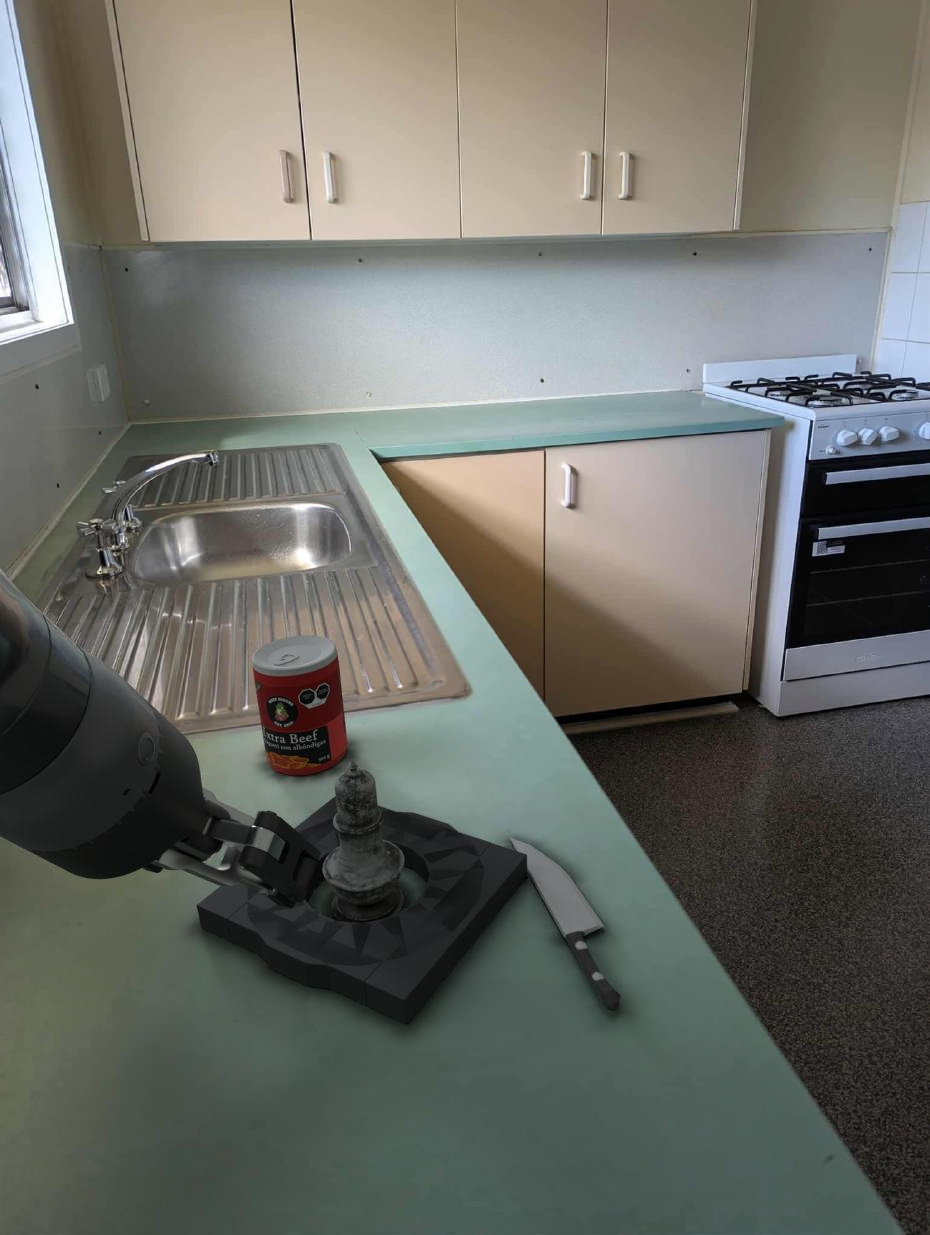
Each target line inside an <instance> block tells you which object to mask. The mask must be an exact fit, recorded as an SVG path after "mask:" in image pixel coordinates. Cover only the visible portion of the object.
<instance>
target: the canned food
mask: <svg viewBox="0 0 930 1235" xmlns="http://www.w3.org/2000/svg"><path fill="white" fill-rule="evenodd" d="M338 652H339V651H338V648H337V644H336V643H335V642H334V641H333V640H332V639H330V638H329V637H325V636H319V635H312V634H311V635H309V634H304V635H303V634H302V635H292V636H287V637H283V638H279V639H275V640H272V641H270V642H268V643H265V644H264V645H261V646H260V647H259V648H257V649H256V650H255V651H254V652H253V654H252V656H251V667H252V675H253V682H254V688H255V695H256V701H257V707H258V714H259V721H260V726H261V732H262V740H263V746H264V752H265V757H266V760H267V761H268V764H269V765H270V767H271V768H272V769H273V770H275V771H276V772H278V773H281V774H284V775H288V776H307V775H312V774H317V773H320V772H323V771H326V770H327V769H330V768H332V767H334V766H335V765H337V764H338V763H339V762H340V761H341V760H342V759H343V758H344V756H345V754H346V751H347V746H348V734H347V726H346V716H345V707H344V705H345V704H344V696H343V686H342V679H341V668H340V660H339V653H338Z"/></svg>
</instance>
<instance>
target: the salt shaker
mask: <svg viewBox="0 0 930 1235" xmlns="http://www.w3.org/2000/svg"><path fill="white" fill-rule="evenodd" d="M347 768H348V769H346V770H345V771H343V772H341V773H340V774H339V775H338V777H337V778H336V780H335V782H334V796H336V803H337V812H338V813H337V814H336V815H335V817H334V820H333V824H334V827H335V828H336V829H337V830H338V831H339V838H340V846H339V847H337V848H336V849H334V850H333V851H332V852H331V853H330V854H329V855H328V856H327V857H326V859H325V861H324V863H323V869H322V870H323V874H324V877H325V879H324V880H326V881H327V882H328V884H329V886H330V888H331V890H332V891H333V893H334V894H335V895H334V897H333V899H332V901H331V911H332V915H333V917H334V918H335V920H336V921H340V922H353V923H365V922H370V921H375V920H380V919H385V918H389V917H391V916H393V915H395V914H397V913H399V912H401V911H402V910H403V906H404V903H405V897H404V896H405V895H404V893H403V890H402V889H401V888H400V887H399V886H398V883H399V880H400V877H401V874H402V871H403V869H404V867H405V866H404V855H403V853H402V851H401V850H400V849H399V848H398V847H397V846H396V845H395V844H393V843H391V842H389V841H386V840H382V833H381V824H382V822H383V820H384V813H383V811H382V810H381V809H380V808H379V807H378V806H379V805H378V804H379V803H378V794H377V784H376V783H377V782H376V780H375V777H374V775H373V774H372V773H371V772H370V771H369V770H366V769H364V768H359V764H358V763H356V762H355V761H354V760H352V761H351V762H350V763H349V765H348V766H347Z"/></svg>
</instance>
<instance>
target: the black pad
mask: <svg viewBox="0 0 930 1235" xmlns="http://www.w3.org/2000/svg"><path fill="white" fill-rule="evenodd" d="M378 807H379V808H380V809H381V810H382V811H383V813H384V820H383V822H382V824H381V833H382V840H386V841H389V842H391V843H393V844H395V845H396V846H397V847H398V848H399V849H400V850H401V851H402V853H403V855H404V867H405V868H408V869H411V870H413V871H415V872H416V874H417V875H419V876H420V877H421V878H422V879H423V880H424V881H426V886H425V889H424V891H423V893H421V894H420V896H418V898H417V899H416V900H415V901H414V902H413V903H412V904H411V905H410V906H409V907H407V908H404V909H402V910H401V911H400V912H399V913H397V914H395V915H393V916H391V917H389V918H385V919H380V920H375V921H370V922H365V923H353V922H340V921H338V920H336V919H332V918H330V917H328V916H325V915H323V914H322V913H321V914H320V913H319V912H316V910H315V909H314V908H313V907H312V906H311V905H310V903H309V900H310V897H311V896H312V893H313V891H314V889H315V888H316V887H317V886H319V885H320V884H321V883H322V882H323V881H324V880H326V879H325V877H324V874H323V870H322V869H323V863H324V861H325V859H326V857H327V856H328V855H329V854H330V853H331V852H332V851H333V850H334V849H336V848H337V847H339V846H340V838H339V831H338V830H337V829H336V828H335V827H334V824H333V820H334V817H335V815H336V814H337V813H338V812H337V803H336V795H334V796H333V797H332V798H331V799H330V800H328V801H327V802H326V803H324V804H323V805H322V806H321V807H320V808H318V809H317V810H316V811H315V812H313V813H312V814H310V816H308V817H307V818H306V819H304V820H303V821H301V823H299V824H297V825H296V826H295V827H293V828H294V829H295V830H296V831H297V832H298V833H300V834H301V835H302V836H303V837H304V838H305V839H306V840H308V841H309V842H310V843H311V844H312V845H313V846H315V847H316V848H317V849H318V850H319V851H320V852H321V855H320V858H319V860H318V862H317V863H316V866H315V869H314V872H313V874H312V877H311V880H310V883H309V885H308V888H307V894H306V896H305V899H304V901H301V902H300V903H299V902H296V904H295V905H294V907H293V908H292V909H290V908H286V907H282V906H279V905H277V904H276V903H275V902H273V901H272V900H270V899H269V898H268V897H266V896H265V895H262V894H260V893H259V891H258V890H255V889H253V888H251V887H248V886H246V885H244V884H241V883H238V884H237V885H235V886H219V887H218V888H216V889H215V890H213V891H212V892H211V893H210V894H208V895H207V896H206V897H205V898H203V899H202V900H201V901H199V903H197V904H196V910H197V915H198V921H199V925H200V928H201V929H204V930H206V931H208V932H210V933H212V934H214V935H216V936H218V937H220V938H223V939H224V940H227V941H229V942H231V943H233V944H236V945H238V946H240V947H242V948H244V949H246V950H248V951H250V952H252V953H255V954H257V955H259V956H261V957H262V958H263V959H264V961H265V962H266V963H267V965H268V966H269V968H270V969H272V970H274V971H275V972H277V973H279V974H282V975H284V976H285V977H288V978H290V979H292V980H294V981H296V982H298V983H301V984H302V985H305V986H307V987H311V988H316V989H330V990H333V991H335V992H337V993H338V994H341V995H343V996H345V997H347V998H350V999H352V1000H354V1001H356V1002H358V1003H360V1004H362V1005H364V1006H367V1007H369V1008H371V1009H373V1010H375V1011H377V1012H379V1013H382V1014H383V1015H386V1016H387V1017H390V1018H392V1019H394V1020H396V1021H398V1022H401V1023H402V1024H404V1025H408V1024H409V1022H411V1020H412V1019H413V1017H414V1016H415V1015H416V1014H417V1013H418V1012H419V1010H420V1009H421V1007H423V1005H424V1004H425V1003H426V1001H427V1000H429V998H430V996H432V994H433V993H434V991H435V990H436V989H437V988H438V987H439V986H440V984H441V983H442V982H443V980H444V979H445V978H446V977H447V976H448V974H449V973H450V972H451V971H452V970H453V969H454V967H455V966H456V965H457V963H458V962H459V961H460V960H461V958H462V957H463V956H464V955H465V953H467V951H468V950H469V948H470V947H471V946H472V945H473V944H474V942H475V941H476V940H477V939H478V938H479V936H480V935H481V934H482V933H483V931H484V930H485V929H486V928H487V926H488V925H489V924H490V923H491V922H492V920H493V919H494V918H495V917H496V916H497V914H498V913H499V912H500V911H501V909H502V908H503V907H504V905H505V904H506V903H507V902H508V901H509V899H510V898H511V897H512V896H513V894H514V893H516V891H517V890H518V888H519V887H520V886H521V885H522V883H524V881H525V880H526V879H527V877H528V876H529V873H528V872H527V854H524V853H521V852H518V851H516V849H511V848H509V847H505V846H502V845H499V844H496V843H494V842H491V841H487V840H485V839H481V838H478V837H476V836H472V835H470V834H467V833H463V832H460V831H458V830H457V829H456V828H455V827H454V826H452V825H451V824H449V823H447V822H444V821H441V820H438V819H435V818H432V817H429V816H426V815H422V814H419V813H417V812H412V811H397V810H394V809H390V808H387V807H384V806H381V805H378ZM249 872H250V871H249Z"/></svg>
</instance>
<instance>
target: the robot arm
mask: <svg viewBox="0 0 930 1235" xmlns="http://www.w3.org/2000/svg"><path fill="white" fill-rule="evenodd" d="M294 828H295V827H293V826H291V825H290V824H289V823H288V822H287V821H286V820H285V819H284V818H282V817H281V816H280V815H278V814H277V813H276V812H275V811H271V810H258V811H257V813H256V816H255V817H253V816H252V815H250V814H247V813H245V812H243V811H241V810H239V809H236V808H234V807H232V806H231V805H228V804H226V803H225V802H221V801H220V800H218V799H217V798H216V795H215V793H213V791H211V790H208V789H207V788H204V787H203V783H202V775H201V767H200V763H199V759H198V756H197V753H196V751H195V749H194V747H193V746H192V743H191V742H190V741H189V739H188V738H187V737H186V736H185V734H183V733H182V732H181V731H180V730H179V729H178V728H177V727H176V726H175V725H174V724H172V722H170V721H169V719H167V718H166V717H165V716H164V715H163V714H162V713H161V712H160V711H159V710H158V709H157V708H156V707H155V706H153V704H151V703H150V702H149V701H148V700H147V699H146V698H145V697H144V696H143V695H142V694H140V693H139V692H138V690H136V689H135V688H134V687H133V686H132V685H131V683H129V682H128V681H127V680H126V679H125V678H123V676H121V675H120V674H119V673H118V672H117V671H116V670H115V669H113V668H112V667H111V666H110V665H109V664H107V663H106V662H105V661H103V660H102V659H101V658H99V657H97V656H96V655H94V654H93V653H91V652H89V651H88V650H86V649H85V648H83V647H81V646H80V645H79V644H78V643H77V642H75V641H74V640H73V639H72V638H71V637H70V636H69V635H67V633H65V632H64V631H63V629H61V628H60V627H59V626H58V625H56V623H54V621H52V619H50V618H49V617H48V616H47V615H46V614H45V613H44V612H43V611H42V610H40V608H38V607H37V606H36V605H35V604H34V603H33V602H32V601H31V600H30V599H29V598H28V597H27V596H25V595H24V593H23V592H21V590H20V589H19V588H18V587H17V586H16V585H15V584H14V583H13V582H12V580H11V579H9V577H8V575H6V574H5V572H4V571H3V569H1V568H0V838H2V839H4V840H5V841H8V842H9V843H11V844H13V845H15V846H17V847H19V848H21V849H23V850H25V851H27V852H29V853H31V854H33V855H35V856H37V857H38V858H41V859H43V860H44V861H46V862H49V863H50V864H52V865H54V866H56V867H58V868H60V869H62V870H64V871H66V872H67V873H70V874H72V875H74V876H76V877H79V878H85V879H89V880H109V879H116V878H120V877H124V876H127V875H130V874H132V873H135V872H137V871H139V870H141V869H143V870H144V871H147V872H151V873H153V874H159V873H161V872H162V871H163V870H165V871H183V872H184V873H185V872H186V873H188V874H190V875H192V876H194V877H197V878H200V879H201V880H202V879H203V880H205V881H207V882H209V883H212V884H214V885H217V886H219V887H220V886H235V885H237V884H238V883H241V884H244V885H246V886H248V887H251V888H253V889H255V890H258V891H259V893H260V894H262V895H265V896H266V897H268V898H269V899H270V900H272V901H273V902H275V903H276V904H277V905H279V906H282V907H286V908H290V909H292V908H293V907H294V905H295V904H296V902H299V903H300V902H301V901H304V899H305V896H306V894H307V888H308V885H309V883H310V880H311V877H312V874H313V872H314V869H315V866H316V863H317V862H318V860H319V858H320V855H321V852H320V851H319V850H318V849H317V848H316V847H315V846H313V845H312V844H311V843H310V842H309V841H308V840H306V839H305V838H304V837H303V836H302V835H301V834H300V833H298V832H297V831H296V830H295V829H294ZM223 846H227V848H226V850H225V852H224V855H223V857H222V860H221V861H220V864H219V865H218V867H214V866H212V865H210V864H207V863H205V861H207V860H209V859H210V858H212V857H213V856H215V855H216V854H218V853H219V852H220V851H221V849H222V848H223ZM249 871H250V872H249Z"/></svg>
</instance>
